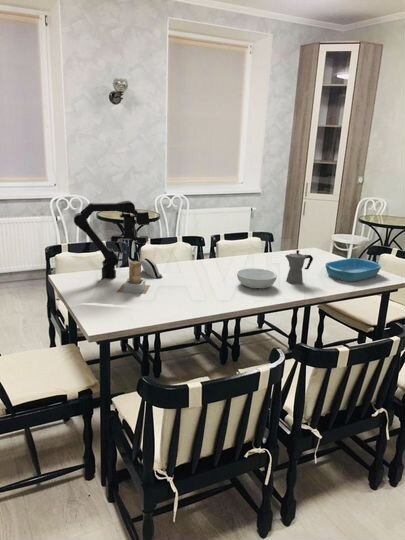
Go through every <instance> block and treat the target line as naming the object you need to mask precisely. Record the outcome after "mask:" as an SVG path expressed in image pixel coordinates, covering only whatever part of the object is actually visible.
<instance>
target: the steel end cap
mask: <svg viewBox="0 0 405 540" xmlns="http://www.w3.org/2000/svg"><path fill="white" fill-rule="evenodd" d="M123 284H124V292H125V293H126V294H139V293H140V294H142V293H143V291H144V289H145V285H146V279H144V278H141V284H134V283H129V278H127V280H126V281H125V282H124V283H123ZM124 292H123V293H124ZM140 294H139V295H140Z"/></svg>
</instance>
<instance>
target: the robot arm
mask: <svg viewBox="0 0 405 540" xmlns="http://www.w3.org/2000/svg"><path fill="white" fill-rule="evenodd" d="M95 212H120V214H119V217H120V218H123V228H122V229H123V236H122V234H113V235H112V236H110V242H111V243H112V242H113V244H115V246H116V248H117V249H118V251H119V253H120V255H123V245H122V244H123V243H122V242H123V241H132V242H135V241H136V242H138V243H137V255H138V256H140V253H141V251H142V247H143V246H144V245H145V244H146V243H148V242H149V236H148V235H139V237H138V233H139V231H138V230H137V229H136V225H135V224H137V225H138V226H150V221H151V220H150V216H149V211H144V212H143V211H142V212H141V211H139V212H138V210H136V206H135V204H134V203H133V202H132V201H130V200H125V201H120V202H114V203H113V202H112V203H110V202H109V203H108V202H107V203H106V202H105V203H103V202H102V203H101V202H100V203H99V202H98V203H96V202H95V203H94V202H90V203H88V204H87V205H86V206H85V207H84V208H83V209H82V210H81V211H80V212H78V213H76V214H74V216H73V223H74V224H75V226H77V228H79V229H80V230H82V231H83V232H84V233H85V235H87V237H88V238H89V239H90V240H91V242H93V244H94V245H95V247H97V249H98V250H99V252H101V254H102V256H103V258H104V260H103V261H102V262H101V264H102V267H101V279H100V280H101V281H102V280H103V279H106V280H110V279H116V277H117V270H116V266H117V265H118V263H119V259H118V257H119V256H118V254H117V252H115V251H114V249H113V248H111V249H110V248H108V247H107V245H106V244H105V243H104V242H103V240H102V239H101V238H100V237H99V235H98V234H97V233H96V231H94V230H93V228H92V227H91V225H90V222H89V221H88V219H89V217H90V216H91V215H92V214H93V213H95ZM131 214H132V215H131Z"/></svg>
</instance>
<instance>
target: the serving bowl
mask: <svg viewBox="0 0 405 540" xmlns="http://www.w3.org/2000/svg"><path fill="white" fill-rule="evenodd" d="M277 277H278V274H277V273H276V272H274V271H271V270H269V269H264V268H251V267H250V268H243V269H240V270H237V272H236V278H237V280H238V281H239V283H240V284H242V285H243V286H245V287H247V288H250V289H257V288H259V289H264V288H269V287H271V286H273V285H274V284H275V282H276V280H277Z"/></svg>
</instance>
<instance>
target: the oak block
mask: <svg viewBox="0 0 405 540" xmlns="http://www.w3.org/2000/svg"><path fill="white" fill-rule="evenodd" d="M128 264H129V265H128V269H129V271H128V274H129V276H128V277H129V283H134V284H141V279H142V264H141V261H137V260H134V261H131V262H128Z"/></svg>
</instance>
